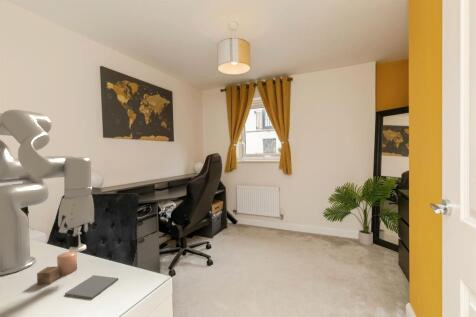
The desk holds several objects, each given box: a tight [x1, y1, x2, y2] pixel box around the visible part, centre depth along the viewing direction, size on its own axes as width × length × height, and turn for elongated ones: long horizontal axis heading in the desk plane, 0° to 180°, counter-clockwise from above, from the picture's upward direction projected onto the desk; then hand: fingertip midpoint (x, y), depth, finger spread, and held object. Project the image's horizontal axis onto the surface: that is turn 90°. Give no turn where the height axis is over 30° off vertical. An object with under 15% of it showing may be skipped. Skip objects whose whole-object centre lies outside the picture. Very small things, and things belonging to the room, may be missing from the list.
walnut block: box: [36, 266, 60, 286], centre depth 74 cm, size 4×4×4 cm
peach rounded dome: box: [56, 251, 78, 276], centre depth 80 cm, size 6×6×6 cm
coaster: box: [64, 274, 119, 300], centre depth 70 cm, size 10×10×1 cm
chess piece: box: [68, 226, 87, 253], centre depth 77 cm, size 5×5×10 cm
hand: (77, 244), depth 77 cm, fingers closed on chess piece
